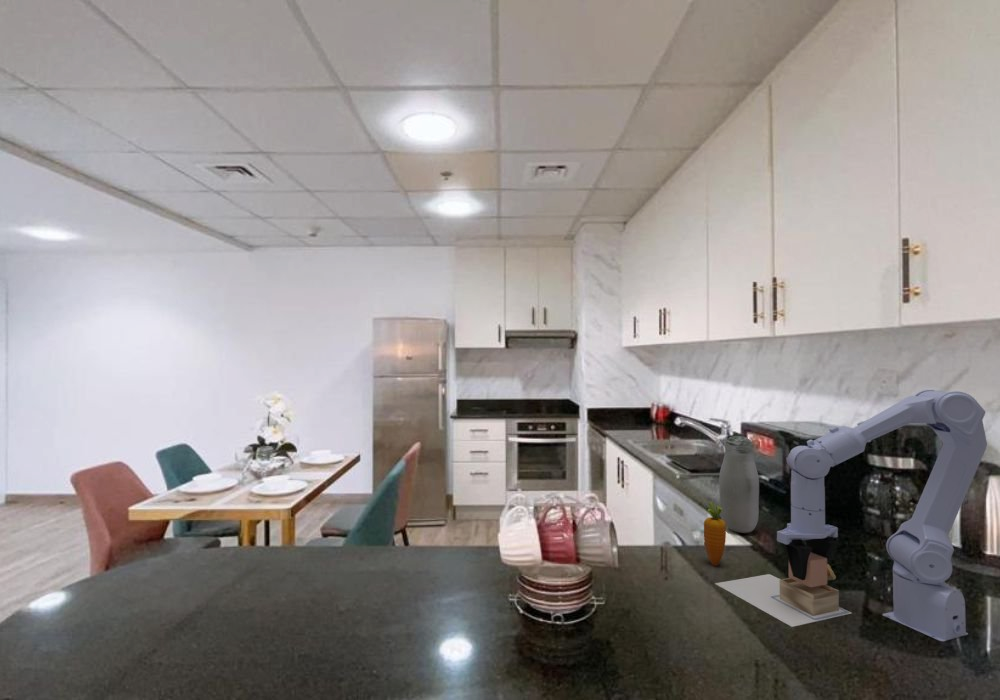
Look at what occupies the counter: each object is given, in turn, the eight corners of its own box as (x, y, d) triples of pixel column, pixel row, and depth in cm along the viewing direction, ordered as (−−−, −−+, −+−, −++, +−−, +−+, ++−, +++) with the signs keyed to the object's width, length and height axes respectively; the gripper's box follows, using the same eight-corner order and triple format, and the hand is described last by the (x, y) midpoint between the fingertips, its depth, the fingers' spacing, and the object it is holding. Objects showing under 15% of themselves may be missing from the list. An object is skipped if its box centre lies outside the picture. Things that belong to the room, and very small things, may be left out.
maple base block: (838, 610, 90) (838, 590, 90) (813, 616, 88) (813, 595, 88) (804, 593, 97) (804, 575, 97) (779, 598, 94) (779, 579, 95)
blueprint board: (852, 616, 89) (852, 612, 89) (791, 630, 84) (791, 626, 84) (769, 576, 106) (769, 573, 106) (714, 586, 101) (714, 583, 101)
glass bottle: (712, 527, 140) (712, 434, 142) (739, 524, 143) (739, 433, 145) (738, 538, 131) (738, 438, 132) (766, 535, 134) (766, 438, 135)
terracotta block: (827, 584, 91) (826, 558, 91) (810, 587, 90) (810, 561, 90) (804, 574, 96) (804, 549, 96) (788, 577, 94) (788, 552, 94)
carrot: (729, 572, 108) (728, 507, 109) (706, 570, 109) (706, 505, 110) (723, 563, 113) (723, 501, 114) (701, 561, 114) (701, 499, 115)
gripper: (813, 499, 99) (814, 563, 99) (763, 504, 94) (763, 572, 94) (848, 508, 93) (849, 578, 92) (795, 514, 88) (796, 587, 87)
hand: (808, 576), depth 93 cm, fingers closed on terracotta block, 5 cm apart
